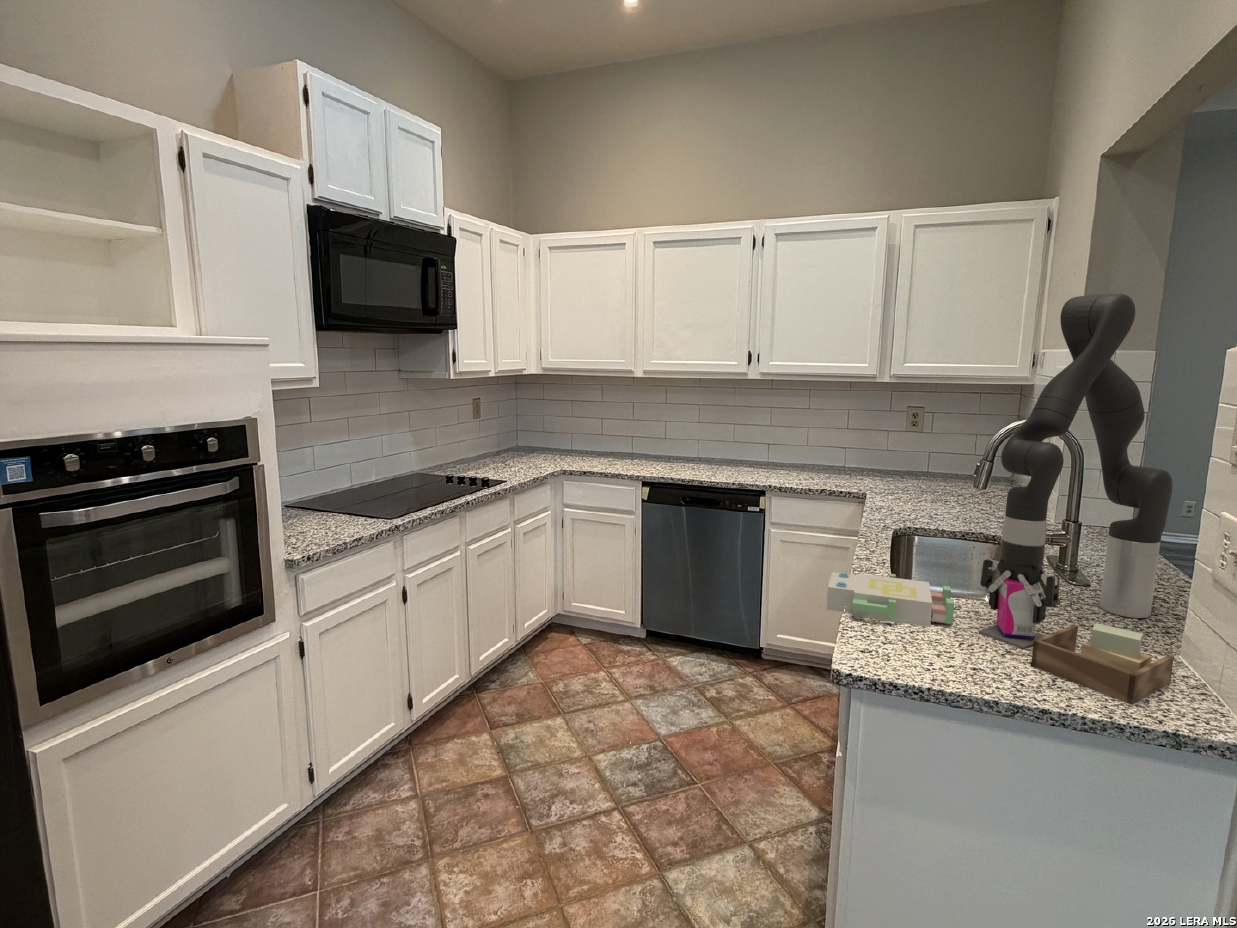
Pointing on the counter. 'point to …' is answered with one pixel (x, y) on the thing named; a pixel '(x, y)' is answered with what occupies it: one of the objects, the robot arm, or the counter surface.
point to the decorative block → (889, 599)
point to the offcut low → (1116, 658)
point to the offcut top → (1116, 640)
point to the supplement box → (1016, 610)
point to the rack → (1098, 668)
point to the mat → (1015, 641)
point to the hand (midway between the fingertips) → (1015, 615)
